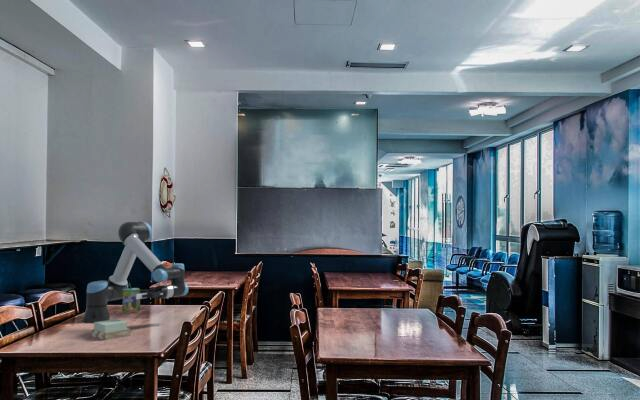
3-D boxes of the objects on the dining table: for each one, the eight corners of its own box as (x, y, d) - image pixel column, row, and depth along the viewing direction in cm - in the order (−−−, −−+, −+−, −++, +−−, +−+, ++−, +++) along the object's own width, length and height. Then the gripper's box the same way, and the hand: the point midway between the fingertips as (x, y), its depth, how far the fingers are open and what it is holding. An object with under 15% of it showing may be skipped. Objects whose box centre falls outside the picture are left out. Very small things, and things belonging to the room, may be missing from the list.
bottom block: (91, 337, 279) (92, 329, 279) (116, 333, 290) (116, 325, 290) (105, 341, 270) (105, 333, 270) (130, 336, 281) (130, 329, 281)
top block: (94, 329, 279) (94, 322, 279) (115, 326, 288) (115, 318, 288) (105, 333, 271) (105, 325, 271) (126, 329, 280) (127, 321, 280)
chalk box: (140, 310, 288) (140, 283, 288) (122, 311, 285) (122, 284, 285) (139, 308, 296) (140, 281, 297) (122, 309, 293) (122, 282, 294)
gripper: (176, 300, 299) (142, 304, 282) (151, 296, 314) (117, 300, 297) (176, 286, 300) (142, 290, 283) (151, 283, 315) (118, 286, 298)
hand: (129, 295), depth 290 cm, fingers closed on chalk box, 12 cm apart
